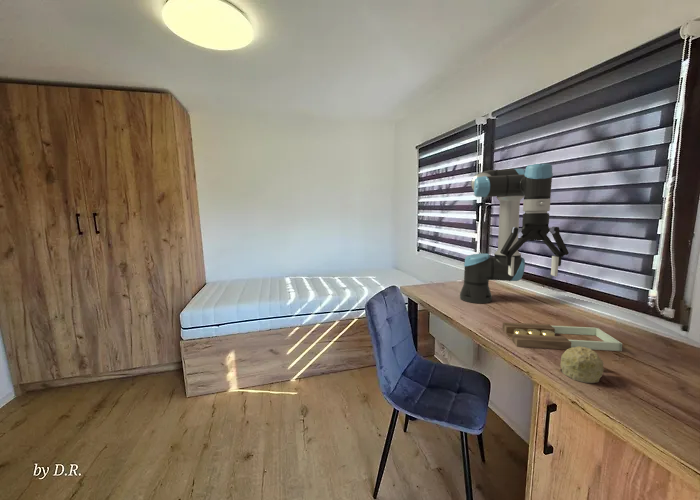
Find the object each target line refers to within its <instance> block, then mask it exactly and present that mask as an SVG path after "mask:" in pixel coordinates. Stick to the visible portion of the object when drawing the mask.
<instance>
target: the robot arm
mask: <svg viewBox="0 0 700 500" xmlns="http://www.w3.org/2000/svg"><path fill="white" fill-rule="evenodd" d="M553 176H554V174H553V165H552V164H550V163H534V164H528V165H527V166H526V167H525V169H524V168H506V169H505V168H504V169H490V170H485V171H481V172H479V173H477V174H475V175H474V176H473V178H471V182H470V186H471V189H472V191H473V194H474V197H475V198H488V197H489V198H492V197H495V198H496V200H498V202H499V215H498V235H497V236H498V242H497V243H498V244H497V250H496V251H495V252H494V253H493V254H494V255H493V256H491V255H490V254H489V253H473V254H469V255H467V256H465V257H464V264H463V266H464V267H463V268H464V269H463V271H464V273H463V275H464V277H463V286H462V288H461V291H460V293H459V299H460V300H462V301H463V302H467V303H472V304H487V303H488V304H489V303H491V302H492V301H493V296H492V293H491V289H490V286H489V281H503V282H517V281H518V282H519V281H520V280H521V279H522V277H523V275H524V273H525V269H526V263H525V260H526V259H525V257H522V253H520V251H519V249H520V248H521V247H522V246H523V245H524V244H525V243H527V241H531V242H532V241H533V242H534V241H540V242H541V241H542V242H543V243H544V244H545V245H546V246H547V247H548V249H549V250H550V251H551V252H552V253H553V255H551V265H550V267H551V268H550V276H553V277H558V271H559V267H561V265H562V258H563V257H564V256H565V255H566V256H568V255H569V250H568V248H567V246H566V244H565V242H564V240H563V237H562V236H561V233H560V228H559V226H552V227H550V226H549V223H550V213H549V212H550V210H551V196H552V195H551V194H552V181H553ZM521 200H523V204H522V211H523V212H524V213H523V214H522V221H521V225H522V226H521V227H520V226H519V225H520V208H521V207H520V206H521ZM520 233H521V234H522V235H521V236H520V237H519V234H520ZM549 233H550V234H551V236H552V238H553V240H554V242H555V244H556V245H555V244H554V243H553V242H552V241H551V238H550V237H549V236H548V234H549Z"/></svg>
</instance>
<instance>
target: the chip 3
mask: <svg viewBox="0 0 700 500" xmlns="http://www.w3.org/2000/svg"><path fill="white" fill-rule="evenodd" d="M541 336H556V333H554V332H552V331H549V330H542V331H541Z"/></svg>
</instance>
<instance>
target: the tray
mask: <svg viewBox="0 0 700 500" xmlns="http://www.w3.org/2000/svg"><path fill="white" fill-rule="evenodd" d="M551 326H552V327H553V328H554V329H555V334H564V335H577V336H578V335H579V336H580V335H583V336H596V337H597V338H599V339H600V340H601V341H600V340H583V339H579V340H578V339H568V340H569V341H570V342H571V348H572V347H578V346H580V347H586V348H589V349H591V350H593V351H594V350H596V351H611V352H612V351H613V352H615V351H616V352H622V351H623V343H622V342H621V341H619V340H618V339H616V338H614V337H613V336H611V335H610V334H608V333H606V332H605V331H604V330H602V329H600V328H599V327H592V326H591V327H589V326H586V327H585V326H569V325H568V326H567V325H551Z"/></svg>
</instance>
